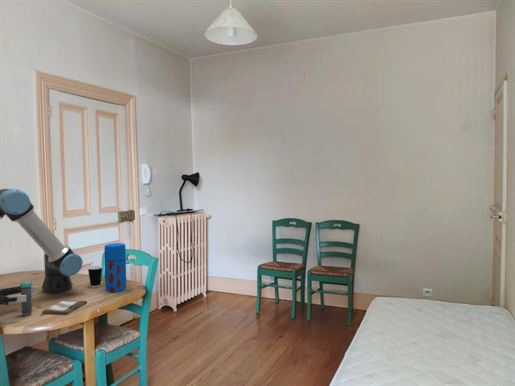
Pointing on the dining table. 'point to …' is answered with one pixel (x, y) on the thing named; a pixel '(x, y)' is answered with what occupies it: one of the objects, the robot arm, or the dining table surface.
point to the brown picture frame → (64, 307)
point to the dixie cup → (95, 275)
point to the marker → (26, 291)
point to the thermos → (115, 267)
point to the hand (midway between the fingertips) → (31, 293)
